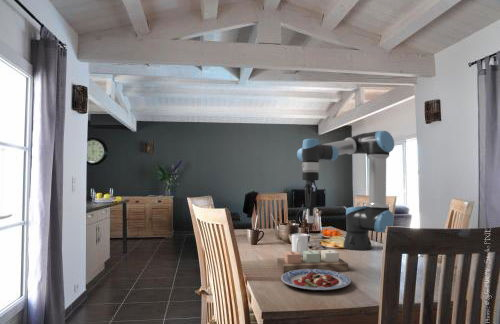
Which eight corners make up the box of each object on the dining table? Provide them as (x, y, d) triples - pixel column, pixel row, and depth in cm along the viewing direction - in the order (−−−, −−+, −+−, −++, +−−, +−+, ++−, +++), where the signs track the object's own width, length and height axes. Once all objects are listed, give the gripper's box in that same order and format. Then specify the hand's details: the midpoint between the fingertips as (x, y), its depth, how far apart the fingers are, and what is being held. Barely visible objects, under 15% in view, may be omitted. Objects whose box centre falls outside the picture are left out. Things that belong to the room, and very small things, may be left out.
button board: (336, 262, 160) (336, 256, 161) (348, 270, 147) (347, 263, 147) (277, 264, 157) (277, 258, 157) (283, 273, 143) (283, 265, 144)
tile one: (334, 259, 156) (333, 249, 156) (338, 262, 150) (338, 252, 151) (321, 260, 156) (321, 250, 156) (325, 263, 150) (325, 253, 150)
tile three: (297, 261, 154) (297, 251, 155) (301, 264, 148) (300, 254, 149) (284, 261, 154) (284, 251, 154) (287, 265, 148) (287, 254, 148)
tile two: (315, 260, 155) (315, 250, 156) (320, 263, 149) (319, 253, 150) (303, 261, 155) (302, 250, 155) (306, 264, 149) (306, 253, 149)
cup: (309, 253, 181) (308, 233, 182) (305, 258, 170) (305, 237, 170) (293, 252, 184) (293, 233, 184) (289, 257, 172) (288, 236, 173)
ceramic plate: (303, 270, 148) (303, 263, 148) (361, 281, 131) (361, 273, 131) (267, 285, 128) (267, 277, 128) (331, 300, 111) (331, 291, 112)
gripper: (299, 172, 166) (298, 221, 164) (306, 171, 153) (306, 224, 152) (314, 172, 167) (314, 221, 165) (322, 171, 154) (322, 224, 152)
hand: (310, 222), depth 158 cm, fingers closed
